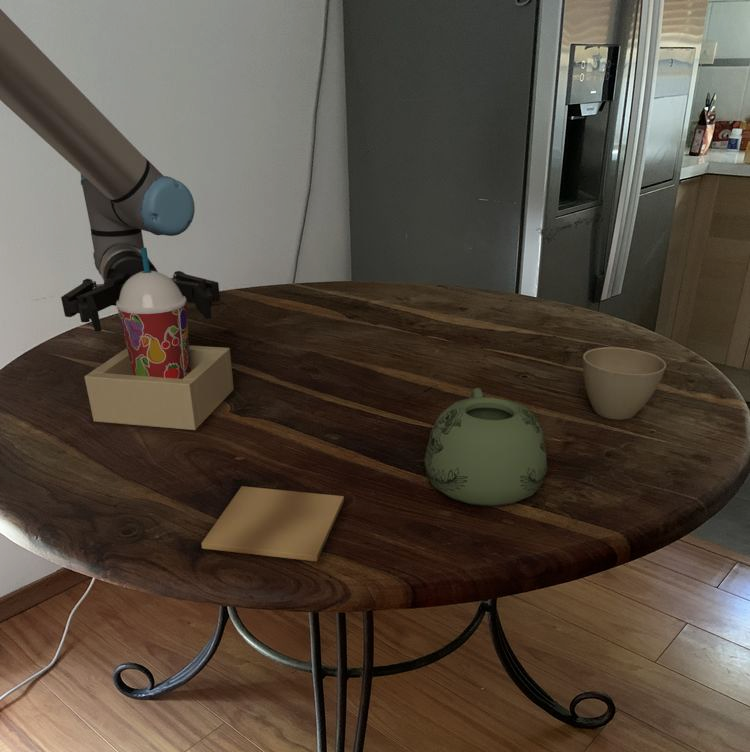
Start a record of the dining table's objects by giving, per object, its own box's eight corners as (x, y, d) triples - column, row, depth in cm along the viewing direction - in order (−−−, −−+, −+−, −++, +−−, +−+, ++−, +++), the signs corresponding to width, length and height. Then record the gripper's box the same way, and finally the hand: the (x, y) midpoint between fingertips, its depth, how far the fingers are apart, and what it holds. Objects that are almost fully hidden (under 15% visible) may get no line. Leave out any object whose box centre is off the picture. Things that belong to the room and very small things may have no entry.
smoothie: (210, 396, 99) (192, 243, 89) (179, 421, 92) (156, 257, 82) (155, 389, 101) (132, 239, 91) (121, 413, 94) (91, 252, 84)
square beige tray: (93, 421, 92) (83, 376, 89) (142, 382, 104) (135, 341, 101) (195, 430, 90) (189, 384, 87) (233, 389, 102) (229, 347, 99)
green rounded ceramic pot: (557, 514, 73) (569, 435, 69) (428, 515, 73) (432, 436, 69) (524, 443, 87) (532, 374, 83) (416, 445, 87) (418, 375, 82)
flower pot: (603, 432, 90) (613, 377, 86) (560, 402, 98) (568, 350, 95) (671, 422, 93) (683, 368, 89) (624, 393, 101) (634, 343, 97)
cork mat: (201, 548, 68) (201, 543, 68) (242, 490, 77) (241, 485, 77) (317, 561, 66) (316, 556, 66) (344, 501, 75) (343, 496, 75)
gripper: (216, 293, 114) (253, 331, 98) (45, 310, 106) (53, 356, 89) (211, 243, 111) (248, 274, 94) (33, 257, 102) (39, 294, 85)
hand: (153, 314), depth 91 cm, fingers open, 13 cm apart
